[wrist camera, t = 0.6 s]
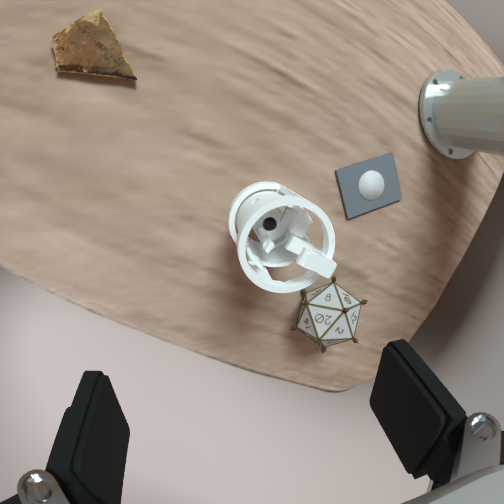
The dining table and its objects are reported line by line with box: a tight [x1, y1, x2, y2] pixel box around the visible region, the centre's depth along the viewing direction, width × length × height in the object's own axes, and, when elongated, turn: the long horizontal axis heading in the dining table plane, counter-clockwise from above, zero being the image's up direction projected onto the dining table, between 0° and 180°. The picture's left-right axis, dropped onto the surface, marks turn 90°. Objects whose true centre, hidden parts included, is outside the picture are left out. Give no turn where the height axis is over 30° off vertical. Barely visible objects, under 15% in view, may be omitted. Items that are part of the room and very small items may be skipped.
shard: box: [50, 9, 137, 80], centre depth 27 cm, size 11×8×2 cm
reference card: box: [335, 153, 402, 219], centre depth 37 cm, size 8×6×1 cm
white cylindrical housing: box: [228, 181, 337, 293], centre depth 29 cm, size 7×7×15 cm
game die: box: [290, 274, 368, 353], centre depth 37 cm, size 9×8×10 cm
